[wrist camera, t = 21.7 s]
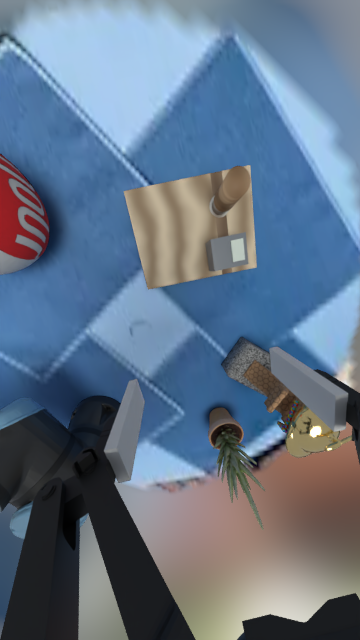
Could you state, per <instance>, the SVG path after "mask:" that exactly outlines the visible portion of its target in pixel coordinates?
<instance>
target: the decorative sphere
mask: <svg viewBox="0 0 360 640" xmlns="http://www.w3.org/2000/svg"><path fill="white" fill-rule="evenodd" d="M49 233H50V227H49V220H48V216H47V213H46V210H45V207H44V205H43V203H42V201H41V199H40V197H39V195H38V194H37V192H36V191H35V189H34V188H33V186H32V185H31V184H30V182H29V181H28V180H27V179H26V177H25V176H24V175H23V174H22V173H21V172H20V171H19V170H18V169H17V168H16V167H15V166H14V165H13V164H12V163H11V162H10V161H9V160H7V159H6V158H5V157H4V156H3V155H1V154H0V275H3V274H8V273H13V272H16V271H19V270H22V269H24V268H26V267H28V266H29V265H31V264H33V263H34V262H35V261H36V260H37V259H38V258H39V257H40V256H41V255H42V254H43V253H44V251H45V249H46V247H47V244H48V241H49Z"/></svg>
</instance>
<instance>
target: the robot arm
mask: <svg viewBox="0 0 360 640" xmlns="http://www.w3.org/2000/svg"><path fill="white" fill-rule="evenodd" d="M270 361H271V373H272V374H273V375H274V376H275V377H276V378H278V379H279V380H280V381H281V382H282V383H283V384H284V385H285V386H286V387H287V388H288V389H289V390H290V391H291V392H292V393H293V394H294V395H296V396H297V397H298V398H299V399H300V400H301V401H302V402H303V403H304V404H305V405H306V406H307V407H308V408H309V409H310V410H311V411H312V412H313V413H315V414H316V415H317V416H318V417H319V418H320V419H321V420H322V421H323V422H324V423H325V424H326V425H327V426H328V427H329V428H330V429H331V430H333V431H334V432H336V431H340V430H344V429H346V422H348V423H349V424H350V425H351V426H352V427H353V429H352V441H355V445H356V450H357V454H358V459H359V463H360V393H358V392H357V391H355V390H354V389H352V388H350V387H349V386H347V385H345V384H344V383H342V382H341V381H339V380H337V379H336V378H333V376H331V375H329V374H328V373H326V372H323V371H321V370H318V369H317V370H312V369H311V368H309V367H308V366H306V365H305V364H303V363H301V362H300V361H298V360H297V359H295V358H294V357H292V356H291V355H289V354H288V353H286V352H285V351H283V350H282V349H280V348H279V347H273V348H270ZM144 404H145V401H144V398H143V395H142V392H141V389H140V386H139V383H138V380H137V379H135V380H131V381H129V383H128V386H127V388H126V391H125V394H124V397H123V399H122V402H121V404H120V403H119V402H117V401H116V400H114V399H112V398H109V397H105V396H93V397H89V398H87V399H85V400H83V401H82V402H81V403H80V404H79V405H78V406H77V407H76V409H75V410H74V412H73V414H72V416H71V420H70V424H69V427H68V429H67V428H66V427H64V426H63V425H62V424H61V423H60V422H59V421H58V420H57V419H56V418H55V417H53V416H52V415H51V414H50V413H49V412H48V411H47V410H46V409H45V407H42V406H40V405H39V404H38V403H37V402H35V401H34V400H33V399H31V398H28V397H23V398H19V399H17V400H15V401H14V402H12V403H10V404H9V405H7V406H5V407H4V408H2V409H1V410H0V513H1V512H2V511H3V509H4V508H5V507H6V505H7V504H8V503H10V504H12V505H13V506H15V507H16V508H17V509H18V510H17V511H16V512H15V513H14V514H13V516H12V520H11V522H10V529H11V530H12V533H13V534H14V535H16V536H18V537H20V538H22V539H24V542H23V546H22V551H21V555H20V559H19V563H18V567H17V571H16V576H15V580H14V584H13V588H12V592H11V597H10V601H9V605H8V610H7V613H6V618H5V622H4V626H3V630H2V635H1V639H0V640H78V616H79V541H80V540H79V539H80V538H79V537H80V527H81V526H82V525H83V523H84V522H85V520H86V518H87V516H88V514H89V516H90V519H91V523H92V526H93V529H94V532H95V535H96V538H97V541H98V545H99V548H100V551H101V554H102V557H103V560H104V563H105V567H106V570H107V573H108V576H109V579H110V582H111V585H112V589H113V592H114V595H115V598H116V601H117V604H118V607H119V610H120V613H121V617H122V620H123V623H124V626H125V629H126V633H127V636H128V639H129V640H195V638H194V636H193V634H192V632H191V630H190V628H189V626H188V624H187V622H186V620H185V619H184V617H183V615H182V613H181V611H180V609H179V607H178V605H177V604H176V602H175V600H174V598H173V597H172V595H171V593H170V591H169V589H168V587H167V585H166V583H165V581H164V579H163V577H162V575H161V573H160V572H159V570H158V568H157V566H156V564H155V562H154V560H153V558H152V556H151V554H150V552H149V550H148V548H147V546H146V544H145V543H144V541H143V539H142V537H141V535H140V533H139V531H138V529H137V527H136V525H135V523H134V521H133V519H132V517H131V516H130V514H129V512H128V510H127V508H126V506H125V504H124V502H123V500H122V498H121V496H120V494H119V492H118V490H117V488H116V486H115V484H114V482H115V478H116V479H117V481H118V483H121V482H125V481H130V480H131V475H132V470H133V464H134V459H135V453H136V448H137V442H138V437H139V431H140V426H141V420H142V415H143V409H144ZM242 623H243V628H244V633H243V634H242V635H241V636H240V637H239V638H238V639H237V640H360V600H359V598H358V596H357V594H356V593H355V594H350V595H346V596H342V597H338V598H334V599H330V600H328V601H327V602H326V603H325V604H324V605H323V606H322V607H321V608H320V609H319V610H318V611H317V612H316V613H315V614H314V615H313V616H312V617H311V618H310V619H309V620H308V621H307V622H304V623H303V622H298V621H295V620H291V619H287V618H283V617H279V616H274V615H271V614H270V615H265V616H262V617H257V618H253V619H250V620H245V621H242Z"/></svg>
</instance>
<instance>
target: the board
mask: <svg viewBox="0 0 360 640" xmlns="http://www.w3.org/2000/svg"><path fill="white" fill-rule="evenodd" d="M243 167H244V168H246V169H247V171H248V172H249V174H250V178H251V171H250V165H248V166H243ZM229 171H230V169H229V170H224V171H220V172H215V173H209V174H205V175H200V176H195V177H190V178H185V179H180V180H176V181H171V182H166V183H161V184H156V185H151V186H146V187H142V188H137V189H132V190H127V191H124V194H125V198H126V202H127V207H128V211H129V215H130V219H131V223H132V227H133V231H134V235H135V239H136V243H137V247H138V251H139V255H140V259H141V263H142V267H143V271H144V275H145V279H146V283H147V287H148V289H153V288H158V287H163V286H168V285H172V284H177V283H182V282H187V281H192V280H197V279H202V278H207V277H212V276H217V275H221V274H226V273H231V272H236V271H241V270H246V269H251V268H256V267H257V265H256V249H255V233H254V218H253V202H252V186H251V182H250V187H249V189H248V191H247V192H246V193H245V194H244V195H243V196H242V197H241V198H240V199H239V201H238V202H237V203H236V204H235V205H234V206H233V207H232V208H231V209H230V210H229V211H227V212H225V213H224V214H223V215H216V214H215V213H214V212H213V210H212V203H213V201H214V197H215V194H216V192H217V191H218V189H219V187H220V186H221V184H222V182H223V180H224V179H225V177H226V175H227V173H228V172H229ZM244 232H246V240H247V252H248V264H246V265H242V266H237V267H232V268H228V269H223V270H218V271H209V265H208V258H207V252H206V245H205V244H206V243H207V242H208V241H209V240H211V239H216V238H220V237H225V236H230V235H234V234H239V233H244Z"/></svg>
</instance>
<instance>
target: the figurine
mask: <svg viewBox="0 0 360 640" xmlns="http://www.w3.org/2000/svg"><path fill="white" fill-rule="evenodd" d="M221 365H222V366H223V368H224V370H225V372H226V373H227V375H228V377H230V378H232V379H234V380H236V381H238V382H240V383H242V384H244V385H246V386H248V387H249V388H251V389H253V390H255V391H257V392H259V393H261V394H263V395H265V396H267V397H268V398H267V399H266V401H265V402H264V403H265V405H266V406H267V410H268V411H269V412H270V413H272V412H273V411H274V409H275V410H277V411H278V412H280V413H281V415H282V417H281V419H282V420H283V422H284V423H285V424H283V423H281V422H279V421H278V422H277V424H278V425H279V427H280V428H281V429H282V431H283V432H285V433H287V435H286V449H287V451H288V452H289V453H290V454H291V455H292V456H294V457H299V458H301V457H306V456H308V455H310V454H312V453H318V452H323V451H332V450H335V449H337V448H339V447H340V446H341V445H342V444H344V443H346V442H348V441H350V440H352V436H349V437H347V438H345V439H342V440H339V439H338V437H339V434H340V431H336V432H334V431H333V430H331V429H330V428H329V427H328V426H327V425H326V424H325V423H324V422H323V421H322V420H321V419H320V418H319V417H318V416H317V415H316V414H315V413H313V412H312V411H311V410H310V409H309V408H308V407H307V406H306V405H305V404H304V403H303V402H302V401H301V400H300V399H299V398H298V397H297V396H296V395H294V394H293V393H292V392H291V391H290V390H289V389H288V388H287V387H286V386H285V385H284V384H283V383H282V382H281V381H280V380H279V379H278V378H276V377H275V376H274V375H273V374H272V373H271V361H270V353H269V352H267V351H265V350H263V349H262V348H260V347H258V346H257V345H255V344H253V343H251V342H250V341H248V340H246V339H245V338H243V337H241V338H240V339H239V340H238V342H237V343H236V345H235V346H234V347H233V349H232V350H231V352H230V353H229V355H228V356H227V357H226V359H225V360H224V362H223V363H222V364H221Z"/></svg>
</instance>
